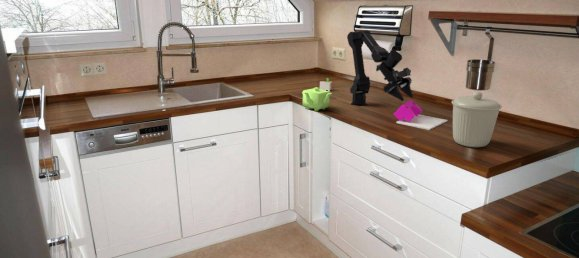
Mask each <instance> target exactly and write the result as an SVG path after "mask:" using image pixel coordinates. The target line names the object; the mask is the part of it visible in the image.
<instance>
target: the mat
mask: <svg viewBox="0 0 579 258" xmlns="http://www.w3.org/2000/svg"><path fill="white" fill-rule="evenodd" d="M446 122H447V123H448V119H444V118H439V117H433V116H429V115H428V116H427V115H424V114H419V115H418V116H414V117H413V118H412V119H411V120H410V121H409V122H408V121H407V120H406V119H405V118H404V119H403V120H401V121H400V120H397V121H396V124H399V125H403V126H404V125H405V126H409V127H413V128H418V129H422V130H427V131H430V130H433V129H434V128H437V127H439V126H441V125H443V124H444V123H446Z"/></svg>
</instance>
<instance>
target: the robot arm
mask: <svg viewBox="0 0 579 258" xmlns="http://www.w3.org/2000/svg"><path fill="white" fill-rule="evenodd" d="M346 38H347V44H348V45H349V47H350V48H351V49H352V57H353V64H354V73H355V76H354V79H353V84H352V85H351V87H350V88H349V92H350V93H349V94H352V98H351V99H352V100H351V101H352V102H350V105H353V106H357V107H361V106H364V105H367V96H366V94H369V91H370V89H371V80H370V76H368V75H366V72H365V71H366V70H365V64H364V63H365V62H364V58H363V57H364V56H363V55H364V54H363V48H362V47H363V45H364V44H365V46H366V47H367V48H368V50H369V51H370V52H371V54H370V56H371V58H372V60H373V62H374V63H377V65H376V68H375V69H376V70H375V71H376V72H379V71H380V73H381V74H382V75H383V77H384V78H383V79H384V81H387V82H388V83H386V84H385V85H384V86H383V88H382V89H383V90H382V91H384V93H385V94H387V95H390V96H393V97H395V99H398V100H400V101H401V102H404V101H405V98H404V96H403V94H406V96H408V97H409V98H411V99H412V98H413V97H414V95H413V91H412V89H411V83H412V81H413V80H412V78H411V77H410V76H411V72H412V70H411V69H410V68H409V67H405V68H403V69H402V70H401V71H399V70H395V67H397V65H399V63H400V62H401V61H402V60H403V56H402V54H401V53H400V52H399V51H397V50H396V49H391V50H390V52H389V51H388V50H387V49H386V48H384V47H382V46H381V45H380V44H379V43H378V42H377V40H375V38H374V37H373V36H372V34H371V32H370V30H367V29H366V30H363V29H362V30H360V31H350V32H348V34H347V35H346ZM378 63H380V64H378ZM401 92H403V94H402V93H401Z"/></svg>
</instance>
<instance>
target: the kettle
mask: <svg viewBox="0 0 579 258" xmlns="http://www.w3.org/2000/svg"><path fill="white" fill-rule="evenodd" d="M301 94H302V107H306V110H311V109H314V112H319V110H326V108H330V105H331V103H330V102H331V95H332V94H333V93H332V92H331V91H326V90H321V89H320V87H317V86H316V87H313V88H309V89H304V90H303V91H302V92H301Z"/></svg>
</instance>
